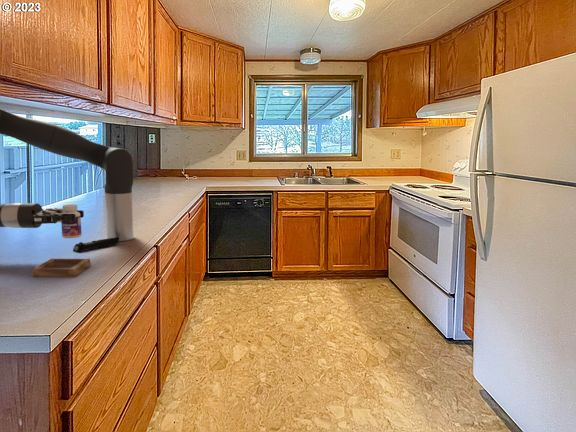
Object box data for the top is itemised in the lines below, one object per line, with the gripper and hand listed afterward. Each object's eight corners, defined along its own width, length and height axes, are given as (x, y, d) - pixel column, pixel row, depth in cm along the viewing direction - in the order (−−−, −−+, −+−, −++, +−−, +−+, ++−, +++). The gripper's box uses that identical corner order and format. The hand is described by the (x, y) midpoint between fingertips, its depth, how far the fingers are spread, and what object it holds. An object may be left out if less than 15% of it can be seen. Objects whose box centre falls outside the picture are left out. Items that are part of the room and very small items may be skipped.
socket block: (51, 265, 134) (51, 258, 133) (90, 265, 134) (90, 258, 134) (32, 276, 123) (32, 269, 122) (74, 276, 123) (74, 269, 123)
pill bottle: (60, 239, 138) (57, 207, 136) (65, 235, 143) (62, 204, 141) (79, 238, 139) (77, 206, 137) (83, 234, 144) (81, 203, 142)
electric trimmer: (121, 246, 160) (121, 237, 160) (77, 253, 148) (77, 244, 148) (115, 244, 163) (115, 235, 162) (72, 251, 151) (71, 242, 150)
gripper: (8, 207, 131) (68, 207, 132) (33, 199, 145) (87, 200, 146) (10, 232, 132) (70, 232, 133) (35, 223, 147) (89, 223, 147)
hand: (79, 215), depth 140 cm, fingers closed on pill bottle, 5 cm apart
